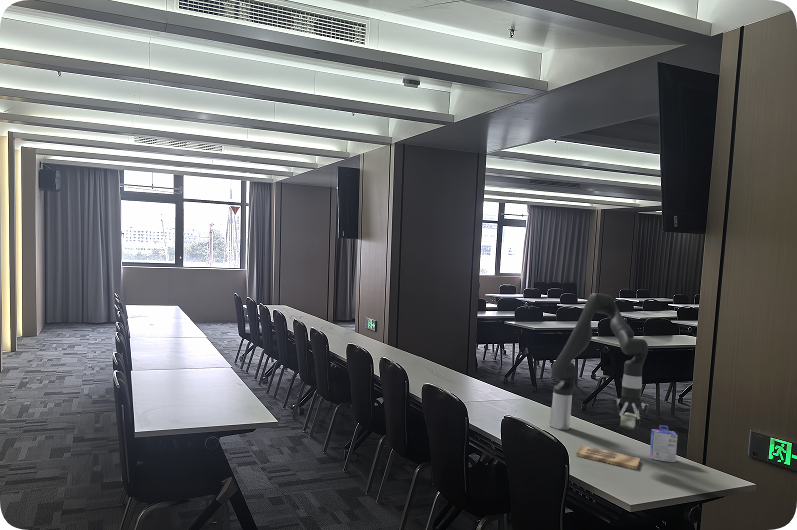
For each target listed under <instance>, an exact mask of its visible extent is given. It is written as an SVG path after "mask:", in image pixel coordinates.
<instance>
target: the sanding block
mask: <svg viewBox="0 0 797 530" xmlns="http://www.w3.org/2000/svg"><path fill="white" fill-rule="evenodd" d="M636 418H637V417H636V414H635V413H632V412H631V413H630V412H624V413H623V415H622V416H621V423H619V424H620V425H619V427H620V428H624V429H629V430H635V428H636Z"/></svg>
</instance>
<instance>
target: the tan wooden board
mask: <svg viewBox="0 0 797 530" xmlns="http://www.w3.org/2000/svg"><path fill="white" fill-rule="evenodd" d="M575 455H576V457H578V456H579V458H583V459H587V458H588V460H591V461H597V462H600V461H601V463H604V462H606V463H605V464H608V463H610V464H609V465H613V464H614V465H613V466H617V465H619V466H618V467H621V466H623V467H622V468H625V467H627V468H626V469H630V468H632V469H631V470H634V469H635V470H634V471H637V470H638V467H639V464H640V463H641V458H640V457H636V456H631V455H627V454H623V453H620V452H619V453H618V452H613V451H609V450H605V449H600V448H596V447H591V446H587V445H581V446H580V448H578V449H577V452H576V454H575ZM639 462H640V463H639Z"/></svg>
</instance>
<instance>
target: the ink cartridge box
mask: <svg viewBox="0 0 797 530" xmlns="http://www.w3.org/2000/svg"><path fill="white" fill-rule="evenodd" d="M650 432H651V433H650V448H649V458H651V460H653V459H654V460H655V461H662V462H663V461H664V462H667V463H670V462H671V463H676V462H677V461H676V460H677V448H678V447H677V445H678V436H679V435H678V433H676V432H675V431H673V430H672V431H671V430H670V429H669V426H668V425H662V424H659V429H653V428H652V429H651V431H650Z"/></svg>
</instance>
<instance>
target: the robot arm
mask: <svg viewBox="0 0 797 530" xmlns="http://www.w3.org/2000/svg"><path fill="white" fill-rule="evenodd" d="M595 314H601V315H605V316H607V317H608V318H609V319H610V322H609V323H610V325H609V326H610V329H611V331H612V333H613V334H614V337H616V339H617V340H618V343H619V347H620V349H621V352H622V353H623V354H625V355H627V356H633V357H632V359H630V360H629V359H628V360H626V361H625V362H624V364H623V365H624V366H623V377H622V381H621V387H622V388H621V395H620V396H621V397H620V398H614V399H613V408H614V414H617V415H618V417H619V418H618V419H619V420H618V424H621V416H622V415H623V414H625V411H631V412H634V414H636V417H637V418H636V427H635V428H637V429H638V428H639V427H640V424H641V419H645V417H646V416H647V412H648V409H649V404H648V403H644V402H642V390H643V389H642V388H643V387H642V385H643V378H642V377H643V366H644V364H645V361H646V357H647V355H648V354H649V353H648V352H649V345H648V342H647V341H646V340H645V339H644V338H643V339H642V338H634V337H635V332H634V331H633V329H632V328H631V326H630V325H629V324H628V322H626V321H625V318H624V316H622V314H621V311H620V310H619V307H618V305H617V304H616V302H615V300H614V298H613V297H612V296H611V295H609V294H604V293H600V292H599V293H598V292H593V293H591V294H589V296H588V297H587V299H586V303H585V305H584V307H583V309H582V312H581V315H580V316H579V318H578V320H577V323H576V325H575V326H574V329H572V332H571V334H570V335H569V338H568V339H567V341H566V343H565V345H564V347H563V348H562V350H561V352H560V354H559V355H557V356H558V357H557V358H556V359H555V361H554V362H553V364H552V366H551V371H550V374H551V377H552V378H553V379H554V380H557V381H560V382H559V383H557V384H555V385H554V386H553V391H552V403H551V407H550V414H549V415H550V416H549V427H551V428H553V429H557V430H564V431H565V430H567V431H568V430H569V429H570V426H571V415H572V404H573V403H572V401H573V392H574V390H575V385H576V384H575V383H576V377H577V369H576V366H575V364H574V362H572V361H573V360H574V359H575V358H576V357H577V356H579V355H581V354H582V353H583V352H584V351H585V350H586V349H587V348H588V346H589V344H590V342H591V341H592V338H593V328H592V320H593V318H594V315H595ZM620 403H621V405H622V408H621V410H619V404H620ZM639 407H641V408H642V409H643V411H642V414H640V411H639Z"/></svg>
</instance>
